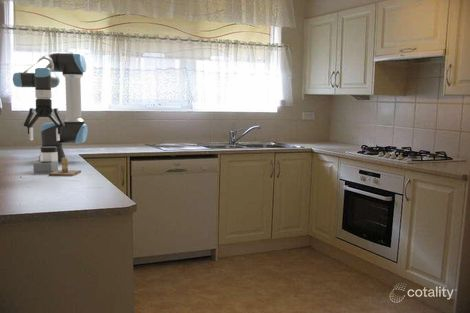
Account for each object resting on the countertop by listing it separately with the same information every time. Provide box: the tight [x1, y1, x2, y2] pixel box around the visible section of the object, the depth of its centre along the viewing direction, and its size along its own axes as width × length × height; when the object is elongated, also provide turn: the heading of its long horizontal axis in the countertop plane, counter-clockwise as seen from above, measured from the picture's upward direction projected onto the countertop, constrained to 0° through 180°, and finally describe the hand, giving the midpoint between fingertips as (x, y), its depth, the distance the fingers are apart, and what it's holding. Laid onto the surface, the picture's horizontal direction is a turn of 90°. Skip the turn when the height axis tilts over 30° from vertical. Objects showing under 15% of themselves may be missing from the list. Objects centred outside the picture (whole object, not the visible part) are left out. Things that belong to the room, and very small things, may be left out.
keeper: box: [47, 157, 82, 177], centre depth 249 cm, size 12×12×8 cm
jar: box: [39, 146, 59, 162], centre depth 264 cm, size 9×8×12 cm
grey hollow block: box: [33, 160, 59, 174], centre depth 256 cm, size 9×9×5 cm
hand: (44, 140), depth 254 cm, fingers open, 13 cm apart
